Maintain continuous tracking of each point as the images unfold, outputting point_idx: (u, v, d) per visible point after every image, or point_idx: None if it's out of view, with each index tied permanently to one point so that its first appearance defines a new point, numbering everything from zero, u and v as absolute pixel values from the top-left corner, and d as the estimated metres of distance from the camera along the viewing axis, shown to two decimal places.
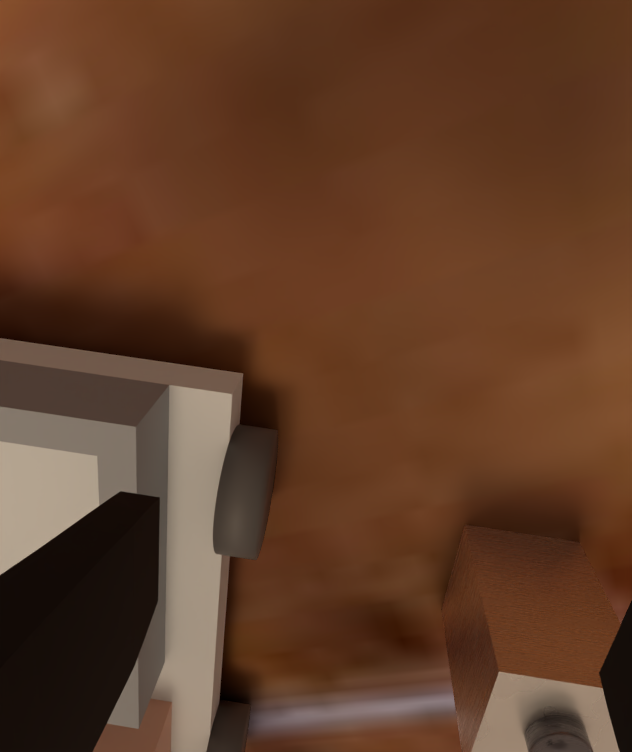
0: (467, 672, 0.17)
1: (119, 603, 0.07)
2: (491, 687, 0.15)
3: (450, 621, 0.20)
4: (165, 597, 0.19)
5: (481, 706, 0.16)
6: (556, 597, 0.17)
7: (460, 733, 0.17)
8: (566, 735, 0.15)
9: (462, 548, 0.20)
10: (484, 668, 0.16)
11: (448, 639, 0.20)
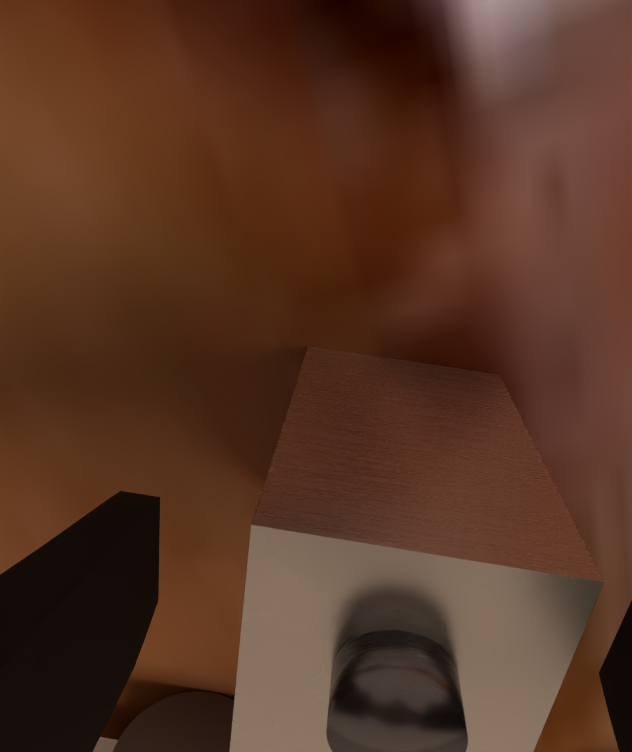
0: None
1: (119, 604, 0.07)
2: None
3: None
4: None
5: None
6: None
7: None
8: None
9: None
10: None
11: None
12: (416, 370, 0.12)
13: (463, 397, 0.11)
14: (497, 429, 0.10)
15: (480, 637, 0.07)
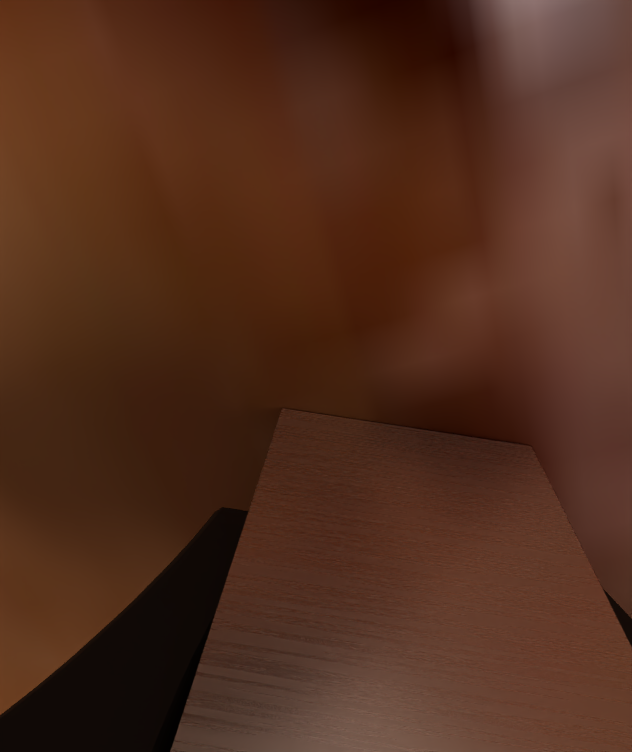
0: None
1: None
2: None
3: None
4: None
5: None
6: None
7: None
8: None
9: None
10: None
11: None
12: (423, 444, 0.09)
13: (488, 490, 0.08)
14: (540, 548, 0.07)
15: None
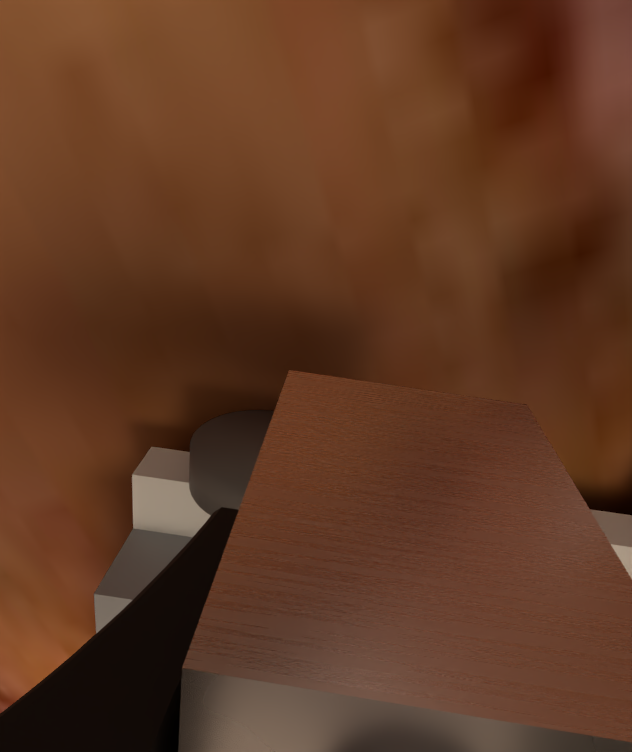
0: None
1: None
2: None
3: None
4: None
5: None
6: None
7: None
8: None
9: None
10: None
11: None
12: (424, 401, 0.09)
13: (485, 438, 0.08)
14: (535, 484, 0.07)
15: None
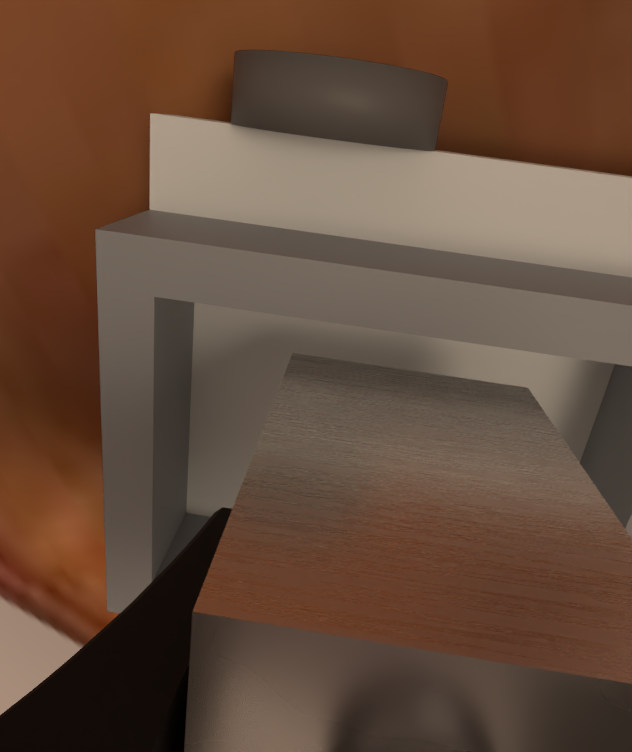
0: None
1: None
2: None
3: None
4: (537, 264, 0.11)
5: None
6: None
7: None
8: None
9: None
10: None
11: None
12: (426, 382, 0.09)
13: (487, 416, 0.08)
14: (538, 457, 0.07)
15: None
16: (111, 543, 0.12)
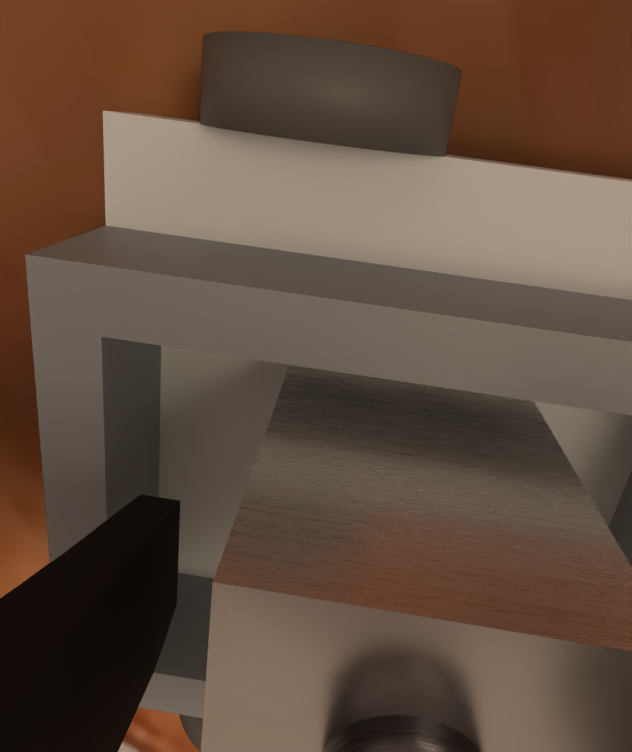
0: None
1: (143, 607, 0.07)
2: None
3: None
4: (568, 291, 0.10)
5: None
6: None
7: None
8: None
9: None
10: None
11: None
12: None
13: (479, 405, 0.09)
14: (523, 444, 0.08)
15: (514, 725, 0.05)
16: None
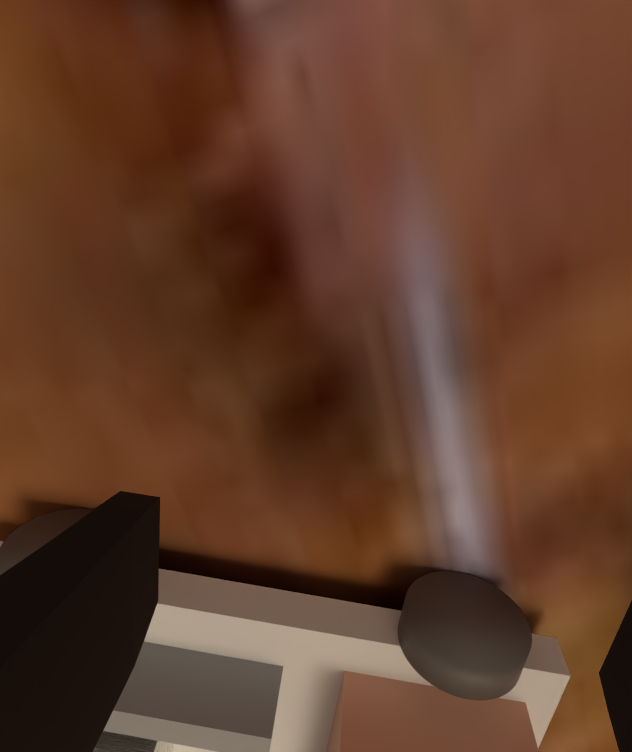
0: None
1: (119, 603, 0.07)
2: None
3: None
4: (190, 651, 0.19)
5: None
6: None
7: None
8: None
9: None
10: None
11: None
12: None
13: None
14: None
15: None
16: None
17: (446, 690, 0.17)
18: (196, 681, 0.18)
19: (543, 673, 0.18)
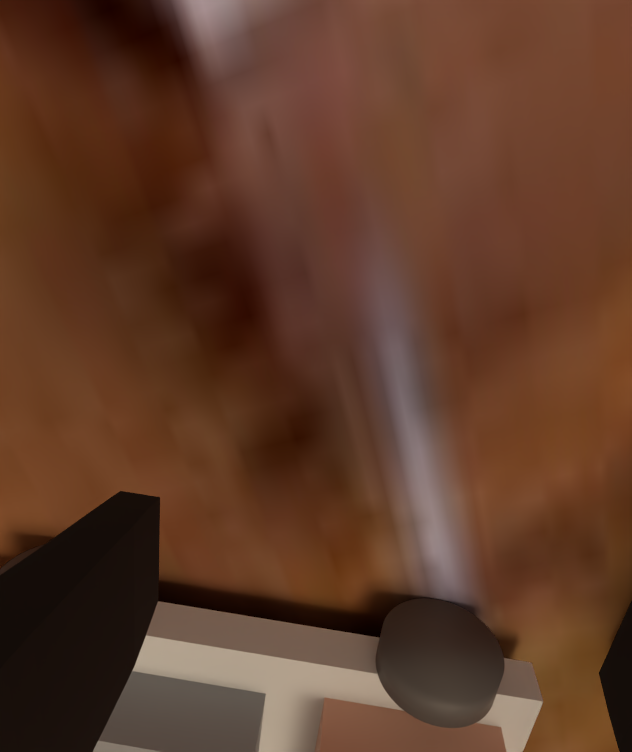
0: None
1: (119, 604, 0.07)
2: None
3: None
4: (175, 679, 0.20)
5: None
6: None
7: None
8: None
9: None
10: None
11: None
12: None
13: None
14: None
15: None
16: None
17: (420, 718, 0.18)
18: (180, 710, 0.19)
19: (517, 699, 0.19)
